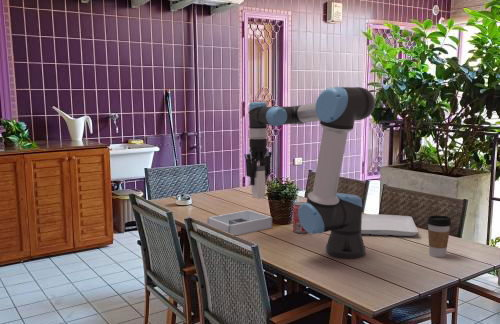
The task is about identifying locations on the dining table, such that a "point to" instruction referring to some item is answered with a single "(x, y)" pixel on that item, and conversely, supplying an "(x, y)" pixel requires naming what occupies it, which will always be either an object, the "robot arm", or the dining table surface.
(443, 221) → the coffee cup
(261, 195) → the pepper shaker
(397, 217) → the square plate
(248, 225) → the box
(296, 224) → the soda can
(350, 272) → the dining table surface
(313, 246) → the dining table surface
